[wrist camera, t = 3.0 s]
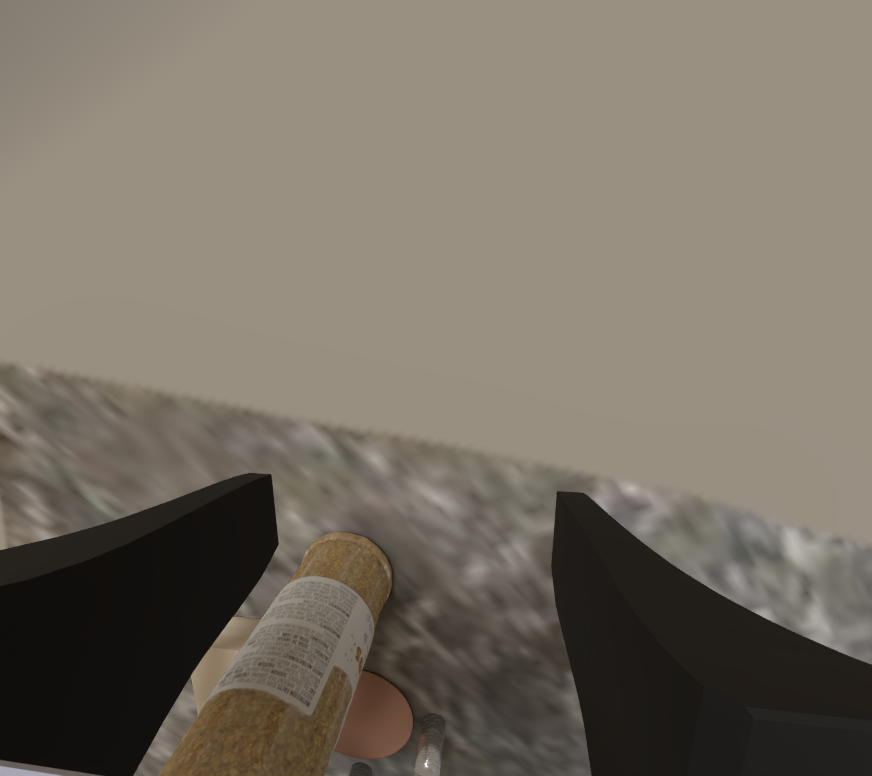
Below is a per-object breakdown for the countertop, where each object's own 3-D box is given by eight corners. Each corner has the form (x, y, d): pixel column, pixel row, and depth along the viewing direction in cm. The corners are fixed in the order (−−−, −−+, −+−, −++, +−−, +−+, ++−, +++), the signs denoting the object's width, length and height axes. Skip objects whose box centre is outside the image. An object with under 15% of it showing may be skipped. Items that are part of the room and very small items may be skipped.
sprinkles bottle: (379, 621, 22) (218, 1099, 9) (294, 587, 23) (23, 1013, 10) (407, 547, 21) (266, 985, 8) (317, 512, 21) (39, 887, 8)
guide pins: (445, 715, 23) (439, 767, 21) (445, 791, 25) (439, 847, 22) (273, 694, 25) (249, 741, 22) (282, 768, 26) (260, 818, 24)
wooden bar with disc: (411, 634, 22) (403, 668, 20) (414, 797, 25) (407, 841, 23) (210, 614, 24) (185, 644, 22) (235, 771, 26) (214, 810, 25)
